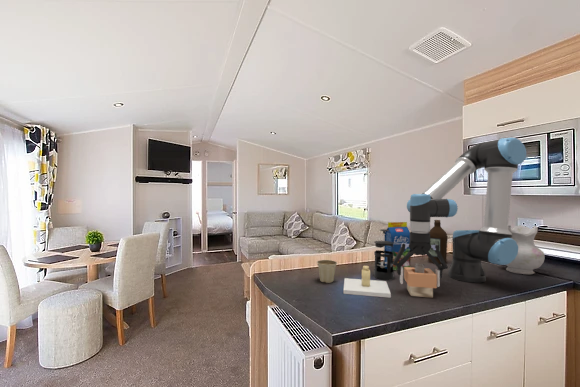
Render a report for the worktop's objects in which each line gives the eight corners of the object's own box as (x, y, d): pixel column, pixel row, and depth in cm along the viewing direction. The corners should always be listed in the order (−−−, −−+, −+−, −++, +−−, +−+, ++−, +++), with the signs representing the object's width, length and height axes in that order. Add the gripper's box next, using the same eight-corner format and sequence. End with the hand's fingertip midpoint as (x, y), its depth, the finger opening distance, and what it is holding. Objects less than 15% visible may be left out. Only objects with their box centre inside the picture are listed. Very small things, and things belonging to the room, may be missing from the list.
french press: (399, 279, 130) (399, 230, 130) (380, 281, 128) (381, 231, 128) (385, 272, 142) (385, 227, 142) (368, 273, 140) (368, 228, 140)
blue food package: (384, 267, 152) (384, 221, 152) (402, 266, 155) (403, 221, 155) (391, 270, 146) (391, 223, 146) (410, 269, 149) (410, 222, 149)
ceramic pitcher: (530, 281, 133) (536, 229, 131) (485, 268, 149) (490, 222, 148) (548, 275, 144) (554, 227, 142) (504, 264, 160) (508, 221, 159)
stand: (427, 290, 116) (427, 263, 116) (432, 297, 108) (433, 267, 108) (407, 289, 118) (407, 261, 118) (410, 295, 110) (411, 266, 110)
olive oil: (432, 259, 172) (433, 218, 172) (450, 263, 163) (451, 220, 163) (423, 261, 166) (423, 219, 166) (441, 265, 157) (442, 221, 157)
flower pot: (341, 280, 128) (341, 262, 128) (329, 285, 122) (329, 265, 122) (324, 276, 135) (324, 258, 135) (312, 281, 128) (312, 262, 128)
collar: (429, 280, 117) (429, 268, 117) (436, 288, 107) (436, 275, 107) (404, 278, 119) (404, 267, 119) (408, 286, 109) (408, 273, 109)
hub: (386, 284, 123) (386, 263, 123) (390, 297, 108) (390, 273, 108) (344, 281, 127) (344, 260, 127) (343, 293, 112) (343, 270, 112)
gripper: (450, 232, 114) (450, 284, 114) (386, 229, 119) (385, 279, 119) (457, 234, 107) (456, 290, 107) (388, 231, 112) (387, 284, 112)
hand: (419, 284), depth 113 cm, fingers open, 13 cm apart
